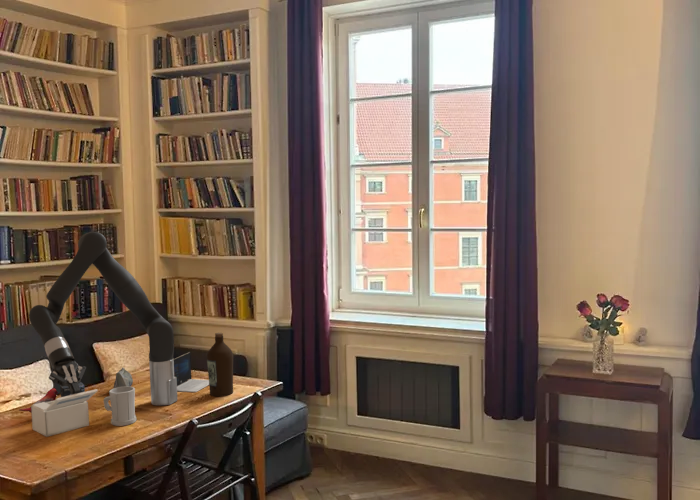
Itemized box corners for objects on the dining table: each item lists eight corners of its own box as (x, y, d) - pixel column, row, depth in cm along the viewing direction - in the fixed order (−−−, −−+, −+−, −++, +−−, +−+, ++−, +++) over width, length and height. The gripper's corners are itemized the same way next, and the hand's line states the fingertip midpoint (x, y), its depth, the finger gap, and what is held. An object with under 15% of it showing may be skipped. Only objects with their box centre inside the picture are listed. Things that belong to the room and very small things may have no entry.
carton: (32, 429, 236) (30, 404, 236) (74, 418, 247) (72, 394, 246) (46, 436, 228) (45, 411, 227) (89, 425, 239) (87, 400, 238)
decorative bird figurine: (62, 412, 255) (60, 386, 254) (22, 427, 239) (20, 399, 238) (56, 411, 256) (55, 386, 255) (16, 426, 240) (15, 399, 239)
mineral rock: (127, 384, 293) (126, 362, 293) (146, 387, 288) (144, 364, 288) (104, 392, 282) (103, 369, 281) (123, 395, 277) (121, 371, 276)
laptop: (195, 393, 277) (194, 362, 276) (169, 391, 281) (167, 361, 280) (216, 382, 294) (215, 352, 294) (191, 380, 298) (189, 351, 297)
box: (64, 415, 251) (62, 388, 250) (61, 412, 256) (59, 384, 255) (86, 411, 255) (84, 384, 255) (83, 408, 260) (81, 381, 259)
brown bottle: (227, 388, 282) (224, 329, 281) (239, 393, 274) (236, 333, 272) (203, 393, 276) (201, 333, 274) (215, 398, 268) (213, 337, 266)
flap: (46, 408, 227) (56, 398, 221) (86, 398, 238) (97, 388, 231) (47, 410, 227) (57, 400, 221) (87, 400, 237) (97, 391, 231)
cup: (107, 428, 234) (106, 395, 234) (104, 421, 243) (102, 389, 242) (138, 423, 239) (136, 390, 238) (134, 416, 247) (132, 384, 247)
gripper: (42, 349, 227) (60, 391, 220) (80, 343, 237) (98, 382, 229) (37, 363, 231) (54, 404, 224) (74, 356, 241) (92, 395, 233)
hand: (76, 393), depth 226 cm, fingers closed
